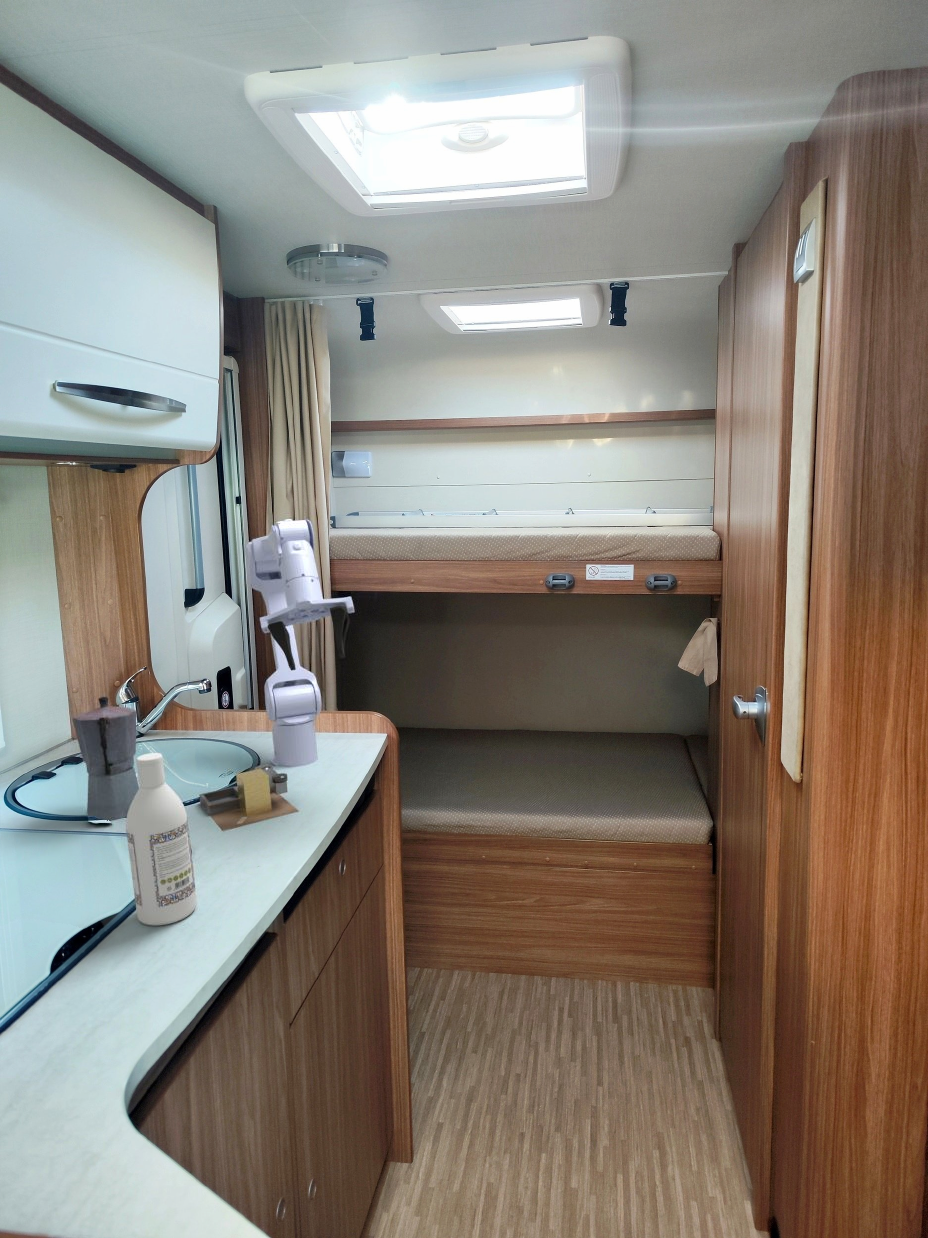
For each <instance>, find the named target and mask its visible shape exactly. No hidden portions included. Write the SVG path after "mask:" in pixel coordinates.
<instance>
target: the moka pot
mask: <svg viewBox="0 0 928 1238" xmlns="http://www.w3.org/2000/svg"><path fill="white" fill-rule="evenodd" d="M98 703H99V707H96V708H93V709H91V710H88V711H84V712H82V713H80V714H77V715H75V716H73V717H72V724H73V727H74V730H75V735H76V738H77V741H78V745H79V746H78V747H79V750H80V755H81V758H82V761H83V762H84V763H85V767H86V773H87V774H88V776H87V777H88V778H87V802H86V805H87V807H86V808H87V809H86V817H87V816H91V817H95V818H98V819H101V818H102V820H103V819H104V820H107V821H108V820H109V821H111V822H112V821H118V820H120V819H125V818H127V814H128V810H129V808H130V805H131V803H132V801H133V799H134V797H135V795H136V793H137V791H138V790H139V788H140V785H139V780H138V777H137V775H136V771H135V767H134V766H135V757H134V756H135V755H136V753H137V752H136V751H137V715H138V713H137V712H138V711H137V710H136V709H135V708H134V709H133V708H131V707H127V706H126V707H125V706H109V697H107V696H101V697H99V698H98Z"/></svg>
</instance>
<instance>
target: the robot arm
mask: <svg viewBox="0 0 928 1238" xmlns="http://www.w3.org/2000/svg"><path fill="white" fill-rule="evenodd" d="M314 551H315V532H314V528H313V525H312V522H311V520H309V519H305V520H302V519H301V520H293V519H289V518H288V519H284V520H280V521H276V522H275V525H271V527H270V532H269V533H268V535H263V536H261V537H257V538H252V540H251V541H249V542H248V543H247V544H246V546H245V558H246V560H245V561H246V566H247V572H248V578H249V583H250V584H251V589H253V590H255V591H258V592H259V593H261V596H262V598H263V601H264V604H265V607H266V614H267V615H264V616H262V617H259V622H260V627H261V631H262V632H263V633H264V634H268V633H270V638H271V645H272V651H273V658H274V663H275V670H276V671H274V672H273V673H272V674H271V675H270V676H269V677H268V678H267V679H266V681H265V683H264V701H265V704H264V705H265V710H266V716H267V719H268V720H269V721H271V722H272V723H273V722H274V723H273V725H272V729H271V730H272V731H271V732H272V734H271V735H272V743H273V744H272V745H273V753H274V758H271V759H270V760H269V761H270V763H271V765H272V766H275V767H276V766H282V767H287V768H292V767H293V768H294V767H295V768H296V767H301V766H306V765H310V764H313V763H315V762H316V761H317V760H318V759H319V758H318V747H317V738H316V737H317V735H316V726H315V725H316V723H315V720H317V716H318V715H320V713H321V711H322V707H323V706H322V696H321V690H320V687H319V685H318V681H317V676H315V674H314V673H313V672H312V671H309V670H308V669H305V668H304V667H302V666H301V664H300V658H299V652H298V647H297V641H296V636H295V629H294V626H295V625H298V624H308V623H312V622H315V621H318V620H320V619H323V618H328V617H331V620H332V625H333V629H334V635H335V643H336V648H337V652H338V653H337V654H338V655H339V656H338V657H339V659H345V657H346V656H345V655H346V654H345V646H346V645H345V642H346V635H347V632H348V628H349V625H350V616H349V614H352V613H353V614H354V613H355V606H354V603H353V602H354V601H353V599H352V596H347V597H337V598H324V597H323V592H322V588H321V584H320V583H321V582H320V578H319V573H318V568H317V563H316V560H315V554H314Z"/></svg>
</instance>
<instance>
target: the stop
mask: <svg viewBox="0 0 928 1238" xmlns="http://www.w3.org/2000/svg"><path fill="white" fill-rule="evenodd" d="M235 776H236V787H237V788H238V797H239V807H240V811H241V812H242V813H243V814H244V815H245V816H246V817H251V816H255V815H259V814H263V813H267V812H270V811H272V807H271V797H270V787H269V776H268V774H267V773H265V772H264V771H263V770H262V769H257V770H255V769H252V770H249V771H248V770H247V771H244V772H238V773H236V774H235Z"/></svg>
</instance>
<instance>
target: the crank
mask: <svg viewBox="0 0 928 1238" xmlns="http://www.w3.org/2000/svg"><path fill="white" fill-rule="evenodd" d="M257 769H262V770H263V771H264V772H265V773H267V774H268V776H269V787H270V794H271V793H273V792H274V793H275V794H276V795H278V794H280V795H282V794H286V793H288V782H287V781H288V780H289V779H288V774H287V773H283V772H281V773H278V772H277V771H275V770H274V765H273V764H265V763H264V764H259V765H257V766H255V767H254V770H257Z"/></svg>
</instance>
